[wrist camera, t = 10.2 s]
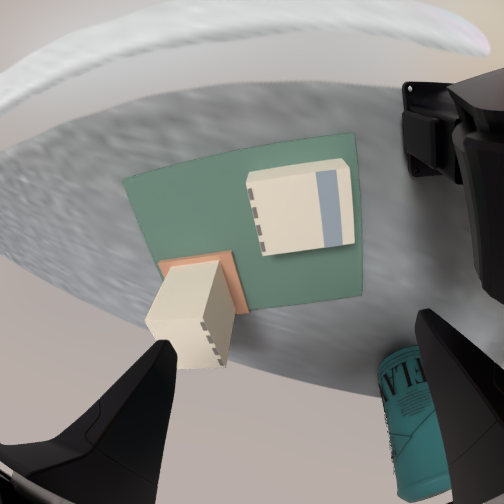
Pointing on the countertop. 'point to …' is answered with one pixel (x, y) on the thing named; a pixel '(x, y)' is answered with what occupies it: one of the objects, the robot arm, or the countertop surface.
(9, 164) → the countertop surface
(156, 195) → the mat
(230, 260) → the coaster
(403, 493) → the beverage bottle
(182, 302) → the stub
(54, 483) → the robot arm
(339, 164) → the spiral notebook
